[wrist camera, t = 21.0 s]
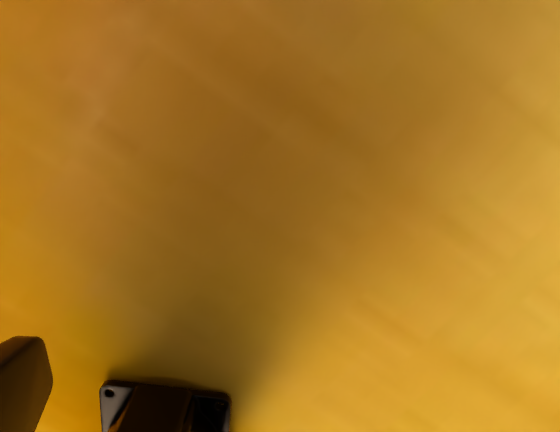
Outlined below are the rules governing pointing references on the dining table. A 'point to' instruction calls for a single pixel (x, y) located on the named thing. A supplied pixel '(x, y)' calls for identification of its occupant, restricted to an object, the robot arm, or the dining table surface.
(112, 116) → the dining table surface
